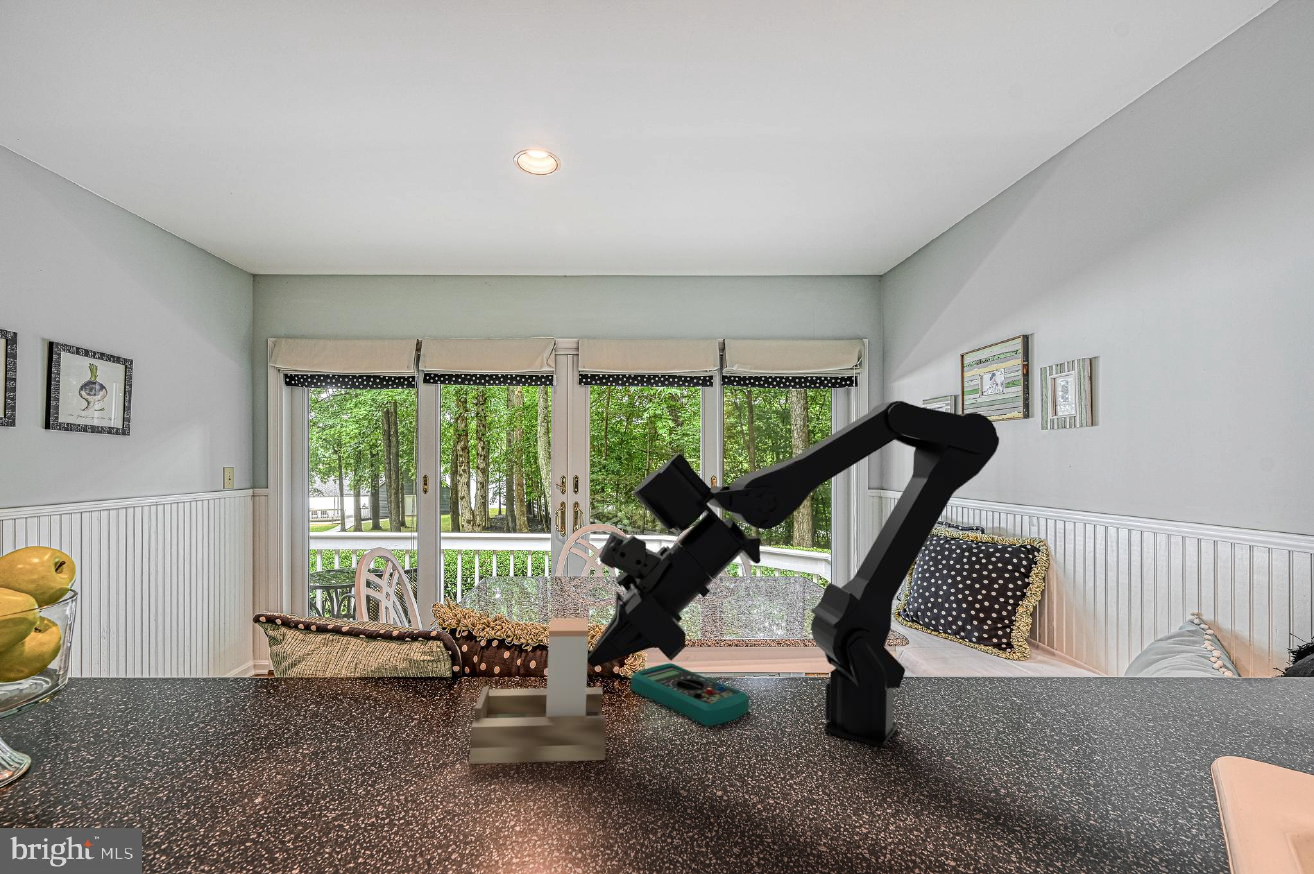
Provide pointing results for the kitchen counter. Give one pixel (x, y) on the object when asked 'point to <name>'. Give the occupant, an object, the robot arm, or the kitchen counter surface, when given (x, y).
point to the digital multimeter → (691, 694)
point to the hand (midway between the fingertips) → (589, 663)
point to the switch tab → (567, 667)
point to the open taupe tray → (534, 729)
